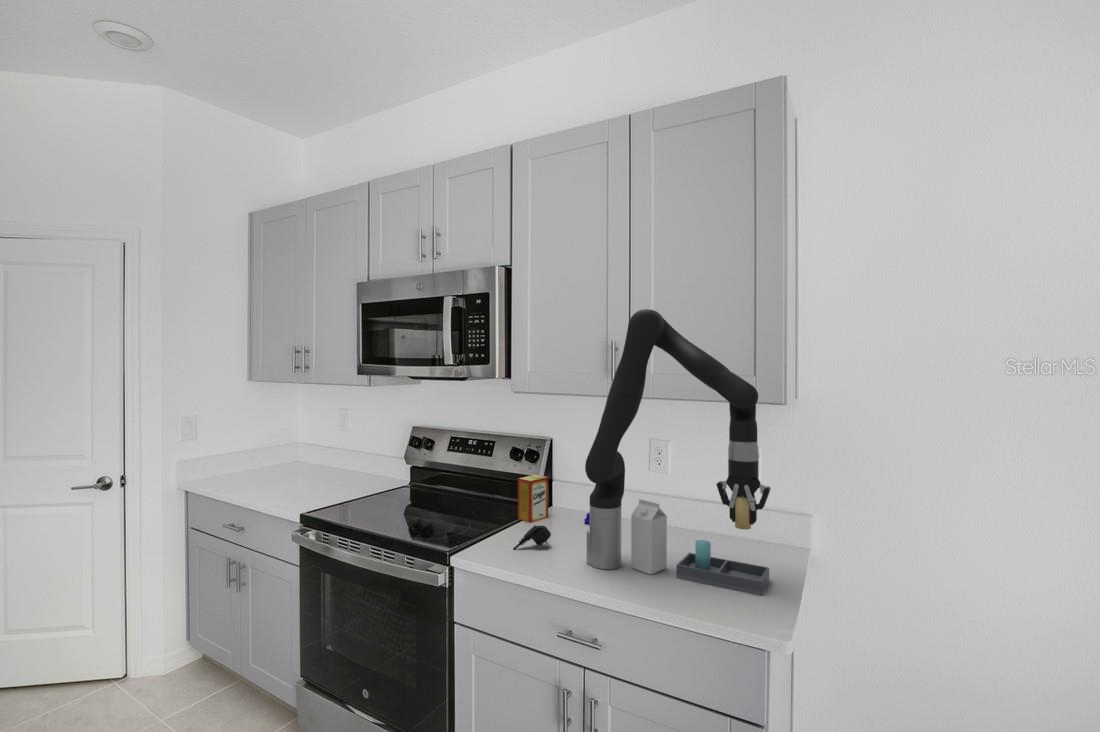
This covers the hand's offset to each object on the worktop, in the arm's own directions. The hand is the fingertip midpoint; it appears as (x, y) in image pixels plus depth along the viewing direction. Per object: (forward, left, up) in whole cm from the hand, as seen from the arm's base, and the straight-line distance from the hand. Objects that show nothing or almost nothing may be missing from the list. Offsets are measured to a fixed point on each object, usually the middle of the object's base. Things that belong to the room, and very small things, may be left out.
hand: (743, 522), depth 144 cm
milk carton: (-25, -3, -16) cm, 30 cm away
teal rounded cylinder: (-11, 0, -15) cm, 19 cm away
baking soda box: (-79, +20, -16) cm, 83 cm away
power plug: (-65, -10, -18) cm, 68 cm away
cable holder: (-56, +26, -17) cm, 64 cm away
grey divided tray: (-5, 0, -16) cm, 17 cm away
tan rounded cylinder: (0, 0, -1) cm, 1 cm away
